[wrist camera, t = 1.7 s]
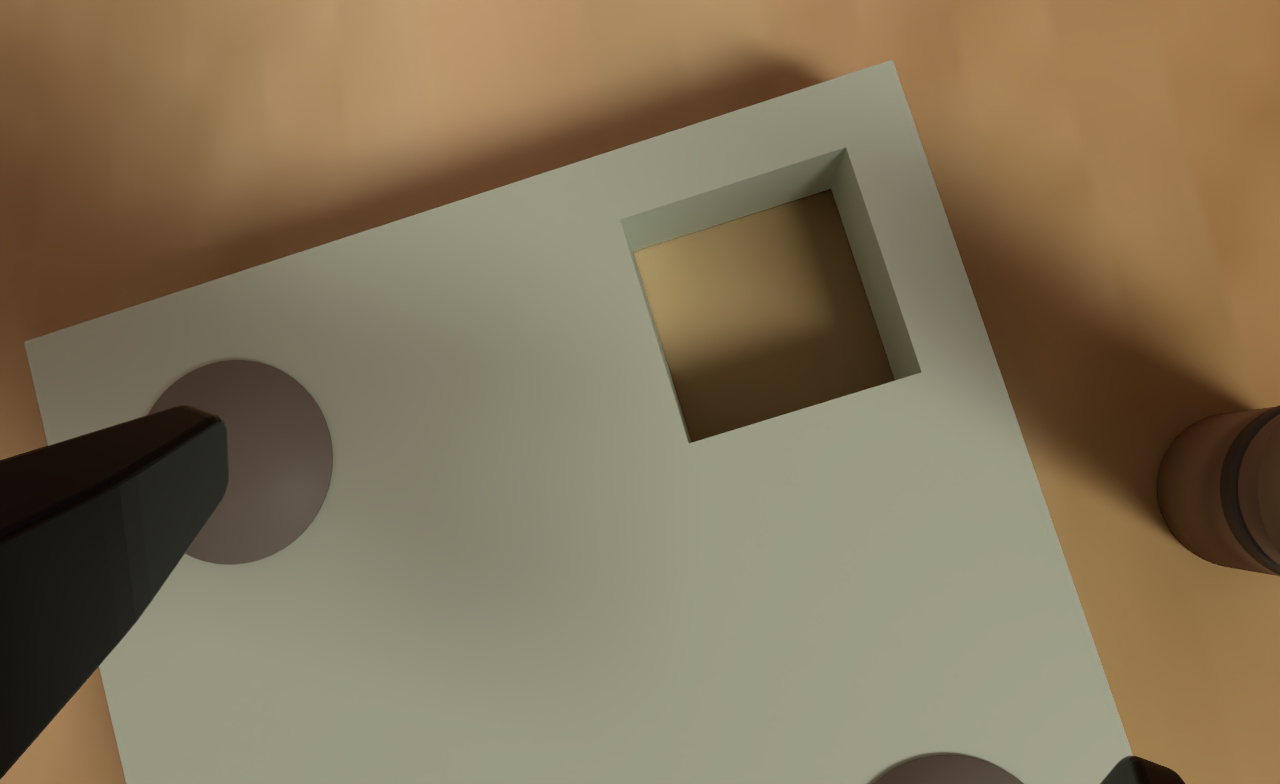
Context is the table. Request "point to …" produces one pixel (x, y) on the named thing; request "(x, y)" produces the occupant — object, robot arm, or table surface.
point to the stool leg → (1226, 489)
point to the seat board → (595, 502)
